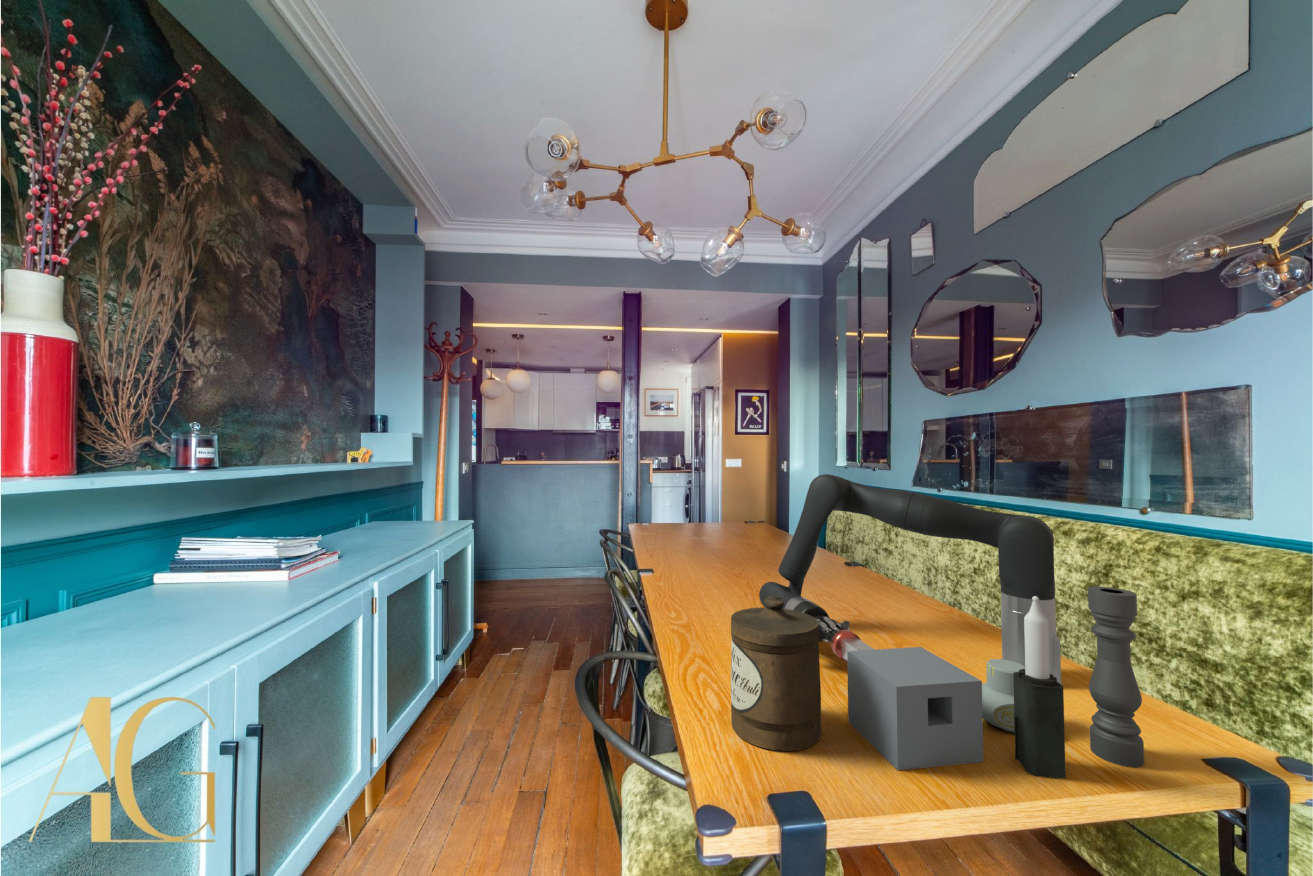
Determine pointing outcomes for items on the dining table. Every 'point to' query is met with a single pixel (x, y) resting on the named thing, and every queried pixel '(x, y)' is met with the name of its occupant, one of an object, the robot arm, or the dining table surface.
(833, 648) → the plunger
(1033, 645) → the candle
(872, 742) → the housing
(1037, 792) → the dining table surface
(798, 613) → the wooden container
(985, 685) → the air freshener
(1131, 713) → the candle holder
